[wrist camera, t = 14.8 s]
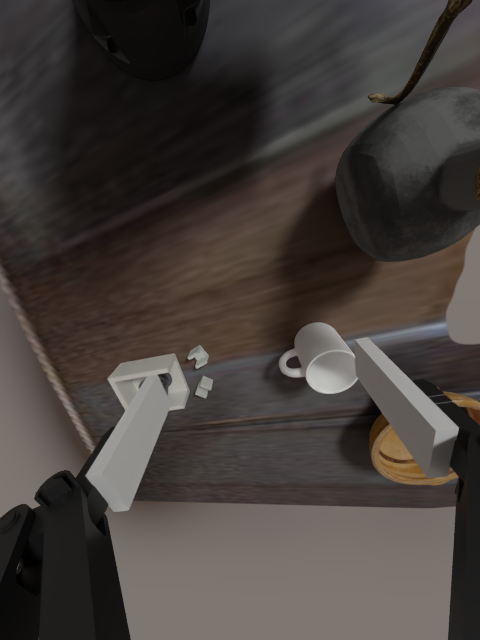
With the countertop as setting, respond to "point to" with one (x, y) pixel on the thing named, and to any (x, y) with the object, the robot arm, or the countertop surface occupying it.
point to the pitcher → (415, 167)
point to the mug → (321, 359)
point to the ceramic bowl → (395, 456)
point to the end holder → (135, 371)
